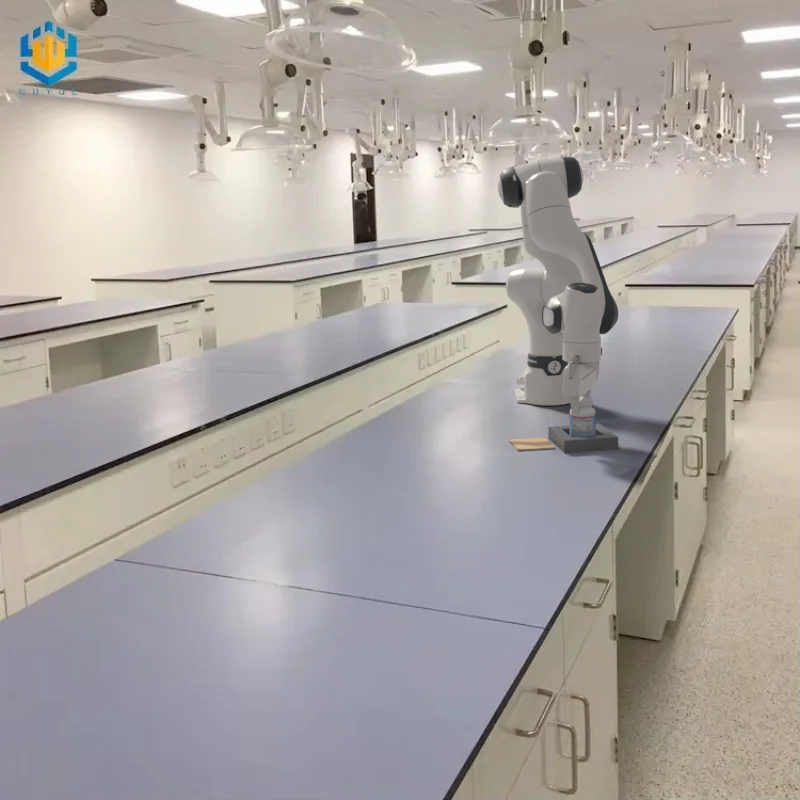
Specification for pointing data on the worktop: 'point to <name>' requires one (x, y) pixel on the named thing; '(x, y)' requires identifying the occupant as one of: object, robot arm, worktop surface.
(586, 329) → the robot arm
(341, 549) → the worktop surface
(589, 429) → the pill bottle
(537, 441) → the cork pad
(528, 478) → the worktop surface
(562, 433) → the grey square bottle holder
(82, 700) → the worktop surface
